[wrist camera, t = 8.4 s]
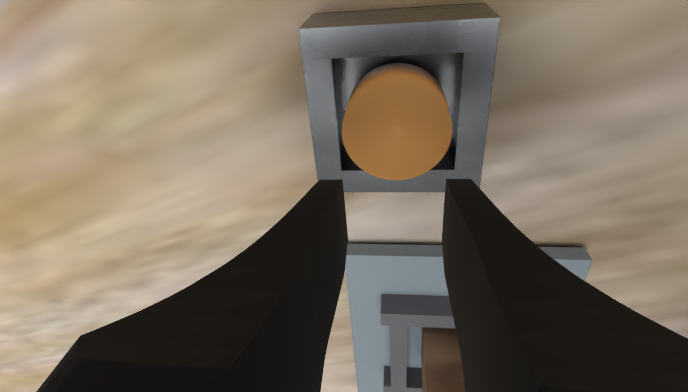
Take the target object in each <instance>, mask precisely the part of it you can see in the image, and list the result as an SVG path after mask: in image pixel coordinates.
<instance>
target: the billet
mask: <svg viewBox="0 0 688 392" xmlns="http://www.w3.org/2000/svg"><path fill="white" fill-rule="evenodd" d="M421 364H422V387H423V392H465V386H464V376H463V366H462V360H461V354H460V348H459V343H458V338H457V334H456V329H453V328H431V327H422V345H421Z"/></svg>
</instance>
